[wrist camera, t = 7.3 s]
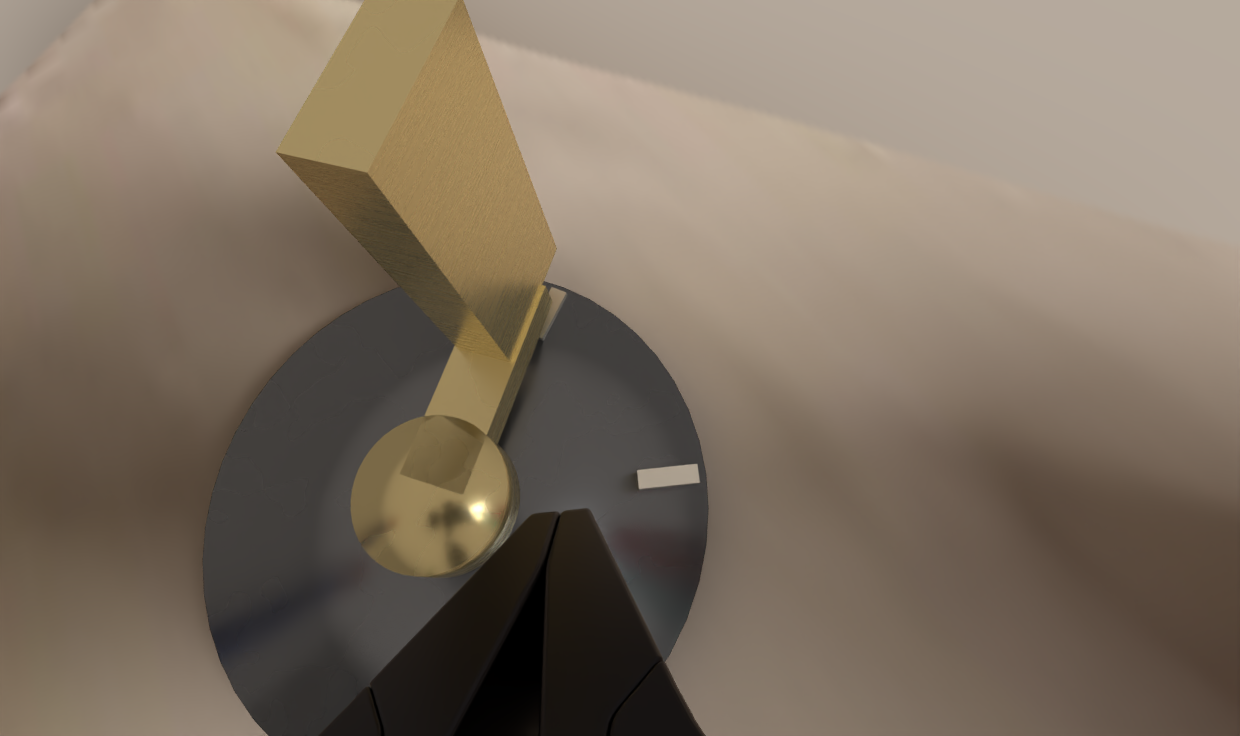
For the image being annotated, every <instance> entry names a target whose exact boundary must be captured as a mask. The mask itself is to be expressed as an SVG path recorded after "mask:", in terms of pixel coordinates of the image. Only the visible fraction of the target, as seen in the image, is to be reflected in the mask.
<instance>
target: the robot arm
mask: <svg viewBox="0 0 1240 736" xmlns="http://www.w3.org/2000/svg"><path fill="white" fill-rule="evenodd" d="M370 688H371V689H370ZM318 736H705V734H704V733H703V731H702V730H701V728H700V727H699V725H698V723H697V722H696V720H695V719H694V717H693V715H692V713H691V711H690V709H689V707H688V706H687V704H686V702H685V700H684V698H683V696H682V694H681V693H680V691H679V689H678V687H677V685H676V683H675V681H674V679H673V677H672V675H671V673H670V671H669V669H668V667H667V665H666V663H665V662H664V660H663V657H662V655H661V653H660V651H659V649H658V647H657V645H656V643H655V641H654V639H653V637H652V635H651V633H650V631H649V629H648V627H647V625H646V623H645V620H644V618H643V616H642V614H641V612H640V610H639V608H638V606H637V604H636V602H635V600H634V598H633V596H632V594H631V592H630V590H629V588H628V586H627V584H626V581H625V579H624V577H623V575H622V573H621V571H620V569H619V567H618V565H617V563H616V561H615V559H614V557H613V555H612V553H611V551H610V549H609V547H608V545H607V543H606V540H605V538H604V536H603V534H602V532H601V530H600V528H599V526H598V524H597V522H596V520H595V518H594V516H593V514H592V512H591V510H590V509H588V508H582V509H572V510H565V511H563V512H562V513H561V514H560V513H559V512H557V511H553V512H543V513H534V514H532V515H530V516H529V517H528V518H527V519H526V520H525V521H524V522H523V523H522V524H521V525H520V526H519V527H518V528H517V529H516V530H515V532H514V533H513V534H512V535H511V536H510V537H509V538H508V539H507V540H506V541H505V542H504V543H503V544H502V545H501V546H500V547H499V548H498V549H497V550H496V551H495V552H494V553H493V554H492V556H491V557H490V558H489V559H488V560H487V561H486V562H485V563H484V564H483V565H482V566H481V567H480V568H479V569H478V570H477V571H476V572H475V573H474V574H473V575H472V576H471V577H470V578H469V580H468V581H467V582H466V583H465V584H464V585H463V586H462V587H461V588H460V589H459V590H458V591H457V592H456V593H455V594H454V595H453V596H452V597H451V598H450V599H449V600H448V601H447V602H446V604H445V605H444V606H443V607H442V608H441V609H440V610H439V611H438V612H437V613H436V614H435V615H434V616H433V617H432V618H431V619H430V620H429V621H428V622H427V623H426V624H425V625H424V626H423V628H422V629H421V630H420V631H419V632H418V633H417V634H416V635H415V636H414V637H413V638H412V639H411V640H410V641H409V642H408V643H407V644H406V645H405V646H404V647H403V648H402V649H401V650H400V652H399V653H398V654H397V655H396V656H395V657H394V658H393V659H392V660H391V661H390V662H389V663H388V664H387V665H386V666H385V667H384V668H383V669H382V670H381V671H380V672H379V673H378V674H377V676H376V677H375V678H374V679H373V680H372V681H371V682H370V687H365V688H364V689H363V690H362V691H361V692H360V693H359V694H358V695H357V696H356V697H355V698H354V699H353V700H352V701H351V702H350V703H349V704H348V705H347V707H346V708H345V709H344V710H343V711H342V712H341V713H340V714H339V715H338V716H337V717H336V718H335V719H334V720H333V721H332V722H331V723H330V724H329V725H328V726H327V727H326V728H325V729H324V730H323V731H322V732H321V733H320V734H319V735H318Z"/></svg>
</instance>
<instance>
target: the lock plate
mask: <svg viewBox="0 0 1240 736" xmlns="http://www.w3.org/2000/svg"><path fill="white" fill-rule="evenodd" d="M542 285H544V286H546V288H547V290H548V292H549V295H550V297H551V299H552V301H553V303H552V305H551V308H550V310H549V313H548V316H547V318H546V321H545V323H544V326H543V329H542V331H541V334H540V336H539V339H538V341H537V344H536V347H535V349H534V352H533V354H532V357H531V360H530V362H529V365H528V367H527V370H526V372H525V375H524V378H523V380H522V383H521V385H520V388H519V390H518V393H517V396H516V398H515V401H514V403H513V406H512V409H511V411H510V414H509V416H508V419H507V421H506V424H505V427H504V429H503V432H502V434H501V437H500V440H499V442H498V444H499V445H500V446H501V447H502V449H503V450H504V451H505V452H506V453H507V455H508V456H509V457H510V459H511V461H512V463H513V465H514V467H515V470H516V472H517V476H518V480H519V486H520V504H519V510H518V515H517V518H516V522H515V524H514V527H513V529H512V531H511V533H510V535H509V537H510V536H511V535H512V534H513V533H514V532H515V530H516V529H517V528H518V527H519V526H520V525H521V524H522V523H523V522H524V521H525V520H526V519H527V518H528V517H529V516H530V515H532V514H534V513H543V512H553V511H557V512H559V513H560V514H561V513H562V512H563V511H565V510H572V509H582V508H588V509H590V510H591V512H592V514H593V516H594V518H595V520H596V522H597V524H598V526H599V528H600V530H601V532H602V534H603V536H604V538H605V540H606V543H607V545H608V547H609V549H610V551H611V553H612V555H613V557H614V559H615V561H616V563H617V565H618V567H619V569H620V571H621V573H622V575H623V577H624V579H625V581H626V584H627V586H628V588H629V590H630V592H631V594H632V596H633V598H634V600H635V602H636V604H637V606H638V608H639V610H640V612H641V614H642V616H643V618H644V620H645V623H646V625H647V627H648V629H649V631H650V633H651V635H652V637H653V639H654V641H655V643H656V645H657V647H658V649H659V651H660V653H661V655H662V657H663V660H664V662H665V661H666V659H667V658H668V656H669V655H670V653H671V651H672V649H673V647H674V645H675V643H676V641H677V638H678V636H679V634H680V632H681V630H682V628H683V626H684V624H685V622H686V620H687V617H688V614H689V611H690V608H691V605H692V602H693V599H694V596H695V593H696V590H697V587H698V584H699V580H700V575H701V569H702V564H703V559H704V554H705V549H706V540H707V523H708V496H707V481H706V471H705V466H704V462H703V457H702V452H701V447H700V442H699V438H698V436H697V433H696V430H695V427H694V424H693V421H692V418H691V415H690V412H689V410H688V408H687V406H686V404H685V402H684V400H683V398H682V396H681V394H680V392H679V390H678V388H677V386H676V384H675V382H674V380H673V379H672V377H671V376H670V374H669V373H668V371H667V370H666V369H665V367H664V366H663V364H662V363H661V361H660V360H659V358H658V357H657V356H656V354H655V353H654V352H653V351H652V350H651V349H650V348H649V347H648V346H647V345H646V344H645V342H644V341H643V340H642V339H641V338H640V337H639V336H638V335H637V334H636V333H635V332H634V331H633V330H632V329H630V328H629V327H628V326H627V325H626V324H624V323H623V322H622V321H621V320H620V319H618V318H617V317H616V316H615V315H614V314H612V313H610V312H609V311H607V310H606V309H604V308H602V307H601V306H599V305H598V304H596V303H594V302H593V301H591V300H590V299H588V298H585V297H583V296H581V295H579V294H577V293H575V292H572V291H570V290H568V289H566V288H564V287H561V286H557V285H554V284H551V283H548V282H543V284H542ZM454 346H455V345H454V344H453V343H452V342H451V341H450V340H449V339H448V338H447V337H446V336H445V334H444V333H443V332H442V331H441V330H440V329H439V328H438V327H437V326H436V325H435V324H434V323H433V322H432V320H431V319H430V318H429V317H428V316H427V315H426V314H425V313H424V312H423V311H422V310H421V309H420V307H419V306H418V305H417V304H416V303H415V302H414V301H413V300H412V299H411V298H410V297H409V296H408V294H407V293H406V292H405V291H404V290H403V289H402V288H401V287H399V288H395V289H393V290H391V291H388V292H386V293H384V294H381V295H379V296H377V297H374V298H372V299H370V300H368V301H366V302H364V303H362V304H360V305H359V306H357V307H355V308H353V309H352V310H350V311H348V312H346V313H345V314H343V315H341V316H340V317H338V318H337V319H336V320H334V321H333V322H331V323H330V324H329V325H327V326H326V327H324V328H323V329H322V330H320V331H319V332H317V333H316V334H315V335H314V336H313V337H312V338H310V339H309V340H308V341H307V342H306V343H305V344H304V345H303V346H301V347H300V348H299V349H298V350H297V351H296V352H295V353H294V354H293V355H292V356H291V357H290V358H289V359H288V360H287V361H286V362H285V363H284V364H283V366H282V367H281V368H280V369H279V370H278V371H277V372H276V373H275V374H274V375H273V377H272V378H271V379H270V380H269V382H268V383H267V384H266V386H265V387H264V388H263V390H262V391H261V393H260V394H259V395H258V397H257V398H256V399H255V401H254V402H253V403H252V405H251V407H250V409H249V410H248V412H247V414H246V415H245V417H244V419H243V420H242V422H241V424H240V426H239V427H238V429H237V431H236V433H235V435H234V437H233V439H232V442H231V444H230V446H229V448H228V450H227V453H226V455H225V457H224V459H223V462H222V465H221V468H220V471H219V474H218V477H217V480H216V483H215V486H214V489H213V492H212V497H211V502H210V507H209V512H208V517H207V522H206V526H205V538H204V551H203V580H204V597H205V603H206V609H207V614H208V620H209V626H210V630H211V633H212V637H213V640H214V643H215V646H216V649H217V652H218V656H219V659H220V662H221V664H222V666H223V668H224V670H225V672H226V674H227V676H228V678H229V680H230V683H231V685H232V687H233V689H234V691H235V693H236V694H237V696H238V697H239V699H240V700H241V702H242V703H243V704H244V706H245V707H246V709H247V710H248V712H249V713H250V715H251V716H252V718H253V719H254V721H255V722H256V723H257V724H258V725H259V726H260V727H261V728H262V729H263V730H264V731H265V732H266V734H267V735H268V736H318V735H319V734H320V733H321V732H322V731H323V730H324V729H325V728H326V727H327V726H328V725H329V724H330V723H331V722H332V721H333V720H334V719H335V718H336V717H337V716H338V715H339V714H340V713H341V712H342V711H343V710H344V709H345V708H346V707H347V705H348V704H349V703H350V702H351V701H352V700H353V699H354V698H355V697H356V696H357V695H358V694H359V693H360V692H361V691H362V690H363V689H364V688H365V687H370V682H371V681H372V680H373V679H374V678H375V677H376V676H377V674H378V673H379V672H380V671H381V670H382V669H383V668H384V667H385V666H386V665H387V664H388V663H389V662H390V661H391V660H392V659H393V658H394V657H395V656H396V655H397V654H398V653H399V652H400V650H401V649H402V648H403V647H404V646H405V645H406V644H407V643H408V642H409V641H410V640H411V639H412V638H413V637H414V636H415V635H416V634H417V633H418V632H419V631H420V630H421V629H422V628H423V626H424V625H425V624H426V623H427V622H428V621H429V620H430V619H431V618H432V617H433V616H434V615H435V614H436V613H437V612H438V611H439V610H440V609H441V608H442V607H443V606H444V605H445V604H446V602H447V601H448V600H449V599H450V598H451V597H452V596H453V595H454V594H455V593H456V592H457V591H458V590H459V589H460V588H461V587H462V586H463V585H464V584H465V583H466V582H467V581H468V580H469V578H470V577H471V576H472V575H473V574H474V573H475V572H476V571H477V570H478V569H479V568H480V567H481V566H482V565H481V566H479V567H478V568H476V569H474V570H472V571H470V572H468V573H465V574H462V575H459V576H455V577H449V578H430V577H417V576H408V575H403V574H399V573H396V572H393V571H391V570H389V569H386V568H385V567H383V566H382V565H380V564H378V563H377V562H376V561H375V560H374V559H373V558H371V557H370V556H369V554H368V553H367V552H366V551H365V550H364V548H363V547H362V545H361V543H360V542H359V540H358V538H357V535H356V533H355V531H354V527H353V523H352V518H351V494H352V488H353V484H354V480H355V477H356V474H357V472H358V469H359V467H360V465H361V463H362V462H363V460H364V458H365V457H366V455H367V454H368V452H369V451H370V450H371V448H372V447H373V446H374V445H375V444H376V443H377V442H378V441H379V440H380V439H381V438H382V437H383V436H384V435H385V434H387V433H388V432H389V431H391V430H392V429H394V428H395V427H397V426H399V425H401V424H403V423H405V422H407V421H409V420H412V419H416V418H419V417H424V416H425V413H426V411H427V409H428V406H429V404H430V402H431V399H432V397H433V395H434V393H435V390H436V388H437V386H438V383H439V381H440V379H441V376H442V374H443V372H444V369H445V367H446V365H447V362H448V360H449V358H450V355H451V353H452V351H453V348H454ZM509 537H508V538H509ZM508 538H507V539H508ZM370 689H371V688H370Z"/></svg>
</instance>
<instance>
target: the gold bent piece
mask: <svg viewBox="0 0 1240 736" xmlns="http://www.w3.org/2000/svg"><path fill="white" fill-rule="evenodd" d="M276 153H277V154H278V155H279V156H280V157H281V158H282V159H283V160H284V162H285V163H286V164H287V165H288V166H289V167H290V168H291V169H292V170H293V171H294V172H295V173H296V175H297V176H298V177H299V178H300V179H301V180H302V181H303V182H304V183H305V184H306V185H307V186H308V187H309V189H310V190H311V191H312V192H313V193H314V194H315V195H316V196H317V197H318V198H319V199H320V200H321V202H322V203H323V204H324V205H325V206H326V207H327V208H328V209H329V210H330V211H331V212H332V213H333V215H334V216H335V217H336V218H337V219H338V220H339V221H340V222H341V223H342V224H343V225H344V226H345V227H346V229H347V230H348V231H349V232H350V233H351V234H352V235H353V236H354V237H355V238H356V239H357V240H358V242H359V243H360V244H361V245H362V246H363V247H364V248H365V249H366V250H367V251H368V252H369V253H370V255H371V256H372V257H373V258H374V259H375V260H376V261H377V262H378V263H379V264H380V265H381V266H382V267H383V269H384V270H385V271H386V272H387V273H388V274H389V275H390V276H391V277H392V278H393V279H394V280H395V282H396V283H397V284H398V285H399V286H400V287H401V288H402V289H403V290H404V291H405V292H406V293H407V294H408V296H409V297H410V298H411V299H412V300H413V301H414V302H415V303H416V304H417V305H418V306H419V307H420V309H421V310H422V311H423V312H424V313H425V314H426V315H427V316H428V317H429V318H430V319H431V320H432V322H433V323H434V324H435V325H436V326H437V327H438V328H439V329H440V330H441V331H442V332H443V333H444V334H445V336H446V337H447V338H448V339H449V340H450V341H451V342H452V343H453V344H454V345H455V346H454V348H453V351H452V353H451V355H450V358H449V360H448V362H447V365H446V367H445V369H444V372H443V374H442V376H441V379H440V381H439V383H438V386H437V388H436V390H435V393H434V395H433V397H432V399H431V402H430V404H429V406H428V409H427V411H426V413H425V416H424V417H419V418H416V419H412V420H409V421H407V422H405V423H403V424H401V425H399V426H397V427H395V428H394V429H392V430H391V431H389V432H388V433H387V434H385V435H384V436H383V437H382V438H381V439H380V440H379V441H378V442H377V443H376V444H375V445H374V446H373V447H372V448H371V450H370V451H369V452H368V454H367V455H366V457H365V458H364V460H363V462H362V463H361V465H360V467H359V469H358V472H357V474H356V477H355V480H354V484H353V488H352V494H351V518H352V523H353V527H354V531H355V533H356V535H357V538H358V540H359V542H360V543H361V545H362V547H363V548H364V550H365V551H366V552H367V553H368V554H369V556H370V557H371V558H373V559H374V560H375V561H376V562H377V563H378V564H380V565H382V566H383V567H385V568H386V569H389V570H391V571H393V572H396V573H399V574H403V575H408V576H417V577H430V578H449V577H455V576H459V575H462V574H465V573H468V572H470V571H472V570H474V569H476V568H478V567H479V566H481V565H483V564H484V563H485V562H486V561H487V560H488V559H489V558H490V557H491V556H492V554H493V553H494V552H495V551H496V550H497V549H498V548H499V547H500V546H501V545H502V544H503V543H504V542H505V541H506V540H507V538H508V537H509V535H510V533H511V531H512V529H513V527H514V524H515V522H516V518H517V515H518V510H519V504H520V486H519V480H518V476H517V472H516V470H515V467H514V465H513V463H512V461H511V459H510V457H509V456H508V455H507V453H506V452H505V451H504V450H503V449H502V447H501V446H500V445H499V444H498V442H499V440H500V437H501V434H502V432H503V429H504V427H505V424H506V421H507V419H508V416H509V414H510V411H511V409H512V406H513V403H514V401H515V398H516V396H517V393H518V390H519V388H520V385H521V383H522V380H523V378H524V375H525V372H526V370H527V367H528V365H529V362H530V360H531V357H532V354H533V352H534V349H535V347H536V344H537V341H538V339H539V336H540V334H541V331H542V329H543V326H544V323H545V321H546V318H547V316H548V313H549V310H550V308H551V305H552V303H553V301H552V299H551V297H550V295H549V292H548V290H547V288H546V286H544V285H542V284H543V282H544V279H545V277H546V274H547V272H548V269H549V267H550V264H551V262H552V259H553V257H554V254H555V252H556V249H557V248H556V245H555V243H554V240H553V237H552V235H551V232H550V229H549V227H548V224H547V221H546V219H545V216H544V213H543V211H542V208H541V205H540V203H539V200H538V197H537V195H536V192H535V189H534V187H533V184H532V181H531V179H530V176H529V174H528V171H527V168H526V166H525V163H524V160H523V158H522V155H521V152H520V150H519V147H518V144H517V142H516V139H515V136H514V134H513V131H512V128H511V126H510V123H509V120H508V118H507V115H506V112H505V110H504V107H503V105H502V102H501V99H500V97H499V94H498V91H497V89H496V86H495V83H494V81H493V78H492V75H491V73H490V70H489V67H488V65H487V62H486V59H485V57H484V54H483V51H482V49H481V46H480V44H479V41H478V38H477V36H476V33H475V30H474V28H473V25H472V22H471V20H470V17H469V14H468V12H467V9H466V6H465V4H464V1H463V0H365V1H364V2H363V4H362V6H361V7H360V9H359V11H358V13H357V14H356V16H355V18H354V19H353V21H352V23H351V25H350V26H349V28H348V30H347V31H346V33H345V35H344V36H343V38H342V40H341V42H340V43H339V45H338V47H337V48H336V50H335V52H334V54H333V55H332V57H331V59H330V60H329V62H328V64H327V65H326V67H325V69H324V71H323V72H322V74H321V76H320V77H319V79H318V81H317V83H316V84H315V86H314V88H313V89H312V91H311V93H310V95H309V96H308V98H307V100H306V101H305V103H304V105H303V106H302V108H301V110H300V112H299V113H298V115H297V117H296V118H295V120H294V122H293V124H292V125H291V127H290V129H289V130H288V132H287V134H286V135H285V137H284V139H283V141H282V142H281V144H280V146H279V147H278V149H277V151H276Z"/></svg>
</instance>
